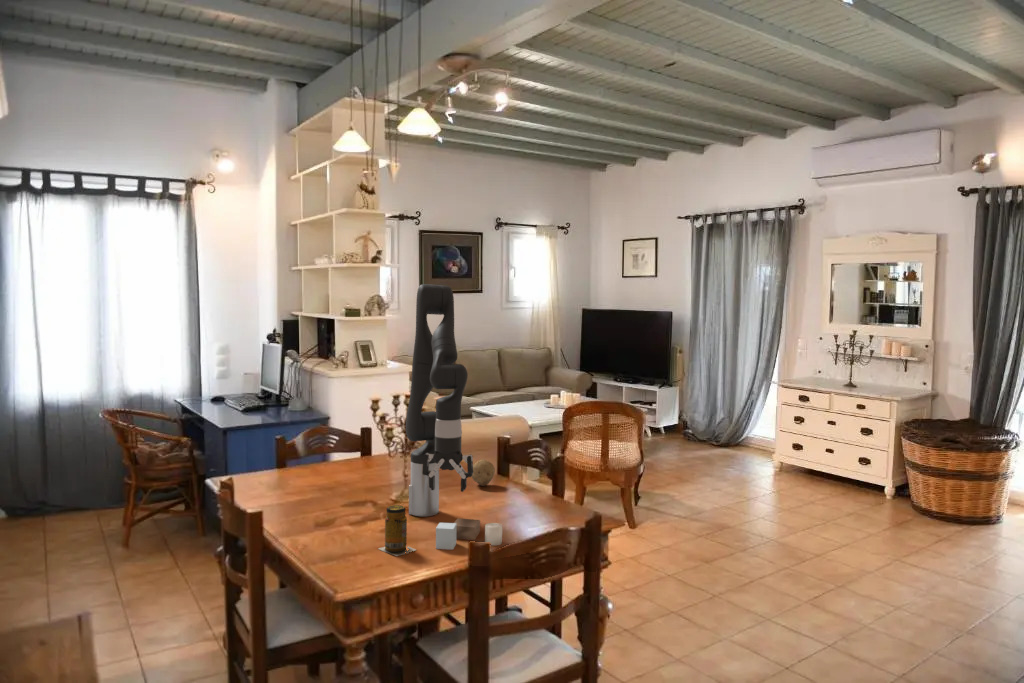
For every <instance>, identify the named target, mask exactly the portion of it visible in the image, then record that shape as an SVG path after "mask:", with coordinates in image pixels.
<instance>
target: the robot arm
mask: <svg viewBox="0 0 1024 683" xmlns="http://www.w3.org/2000/svg"><path fill="white" fill-rule="evenodd" d="M454 299H455V298H454V291H453V289H452V288H451V286H449V285H443V284H430V283H429V284H428V283H427V284H426V283H423V284H420V285H419V286H418V289H417V293H416V302H415V303H416V305H415V306H416V307H415V312H416V313H415V336H414V345H413V354H412V362H411V364H412V365H411V383H410V384H411V385H410V393H409V394H410V395H409V400H408V407H407V413H406V421H405V434H406V437H407V439H408V440H409V442H423V441H425V442H424V443H423V444H422V445H421V446H420V447H418V448H416V449H414V450H412V451H411V453H410V484H409V485H408V515H413V516H416V517H432V516H435V515H438V514H439V512H440V510H439V509H440V470H441V471H446V470H448V471H456V473H457V474H459V476H460V492H461V493H464V491H465V490H466V488H467V486H468V484H467V483H468V482H467V479H468V478H472V475H473V465H474V459H473V458H474V456H473V455H472V453H470V454H468V455H463V454H462V434H463V430H462V418H461V417H462V400H463V395H464V391H465V388H466V384H467V382H468V378H469V377H468V374H469V373H468V369H467V368H466V366H465V365H464V364H461V363H456V362H457V360H458V351H457V350H458V349H457V344H456V337H455V304H454V303H455V300H454ZM428 315H434V316H435V315H436V316H437V315H439V316H441V315H443V317H442V319H441V322H440V323H439V325H438V326H437V327H436V329H435V330H434V331H433V333H432V332H431V329H430V326H429V324H428ZM433 389H435V390H453V391H452V393H451V394H449V395H446V396H442V397H439V398H437V399H436V402H435V411H432V410H431V411H423V407H424V404H425V401H426V399H427V397H428V396H429V394H431V391H432V390H433ZM462 461H464V462H465V464H467V465H466V467H467V471H466V470H465V469H464V467H463V465H462V464H461V463H462Z"/></svg>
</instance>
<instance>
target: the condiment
mask: <svg viewBox="0 0 1024 683" xmlns="http://www.w3.org/2000/svg"><path fill="white" fill-rule="evenodd" d="M407 522H408V519H407V516H406V506H404V505H398V504H396V505H390V506H387V508H386V516H385V519H384V546H382V547H379V548H377V549H378V550H379V551H382V552H384V553H387V554H390V555H392V556H395V557H398V556H402V555H406V554H410V553H411V552H412V551H413V552H414V551H417V549H416V548H413V547H411V546H408V547H407V548H408V549H409V550H408V551H407V550H406V546H407V541H408V540H407V539H408V538H407V535H408V533H407V531H408V527H407V526H408V523H407ZM405 550H406V551H405ZM405 552H406V554H405ZM409 552H410V553H409ZM413 552H412V553H413Z"/></svg>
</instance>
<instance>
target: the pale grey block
mask: <svg viewBox="0 0 1024 683" xmlns="http://www.w3.org/2000/svg"><path fill="white" fill-rule="evenodd" d="M456 529H457V523H454V522H438V524H437V526H436V527H435V549H436V550H454V549H455V547H456V545H457V539H456Z"/></svg>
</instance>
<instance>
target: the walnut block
mask: <svg viewBox="0 0 1024 683" xmlns="http://www.w3.org/2000/svg"><path fill="white" fill-rule="evenodd" d="M453 523H457V529H456V540H457V539H458V540H470V541H471V540H472V541H476V539H477V537H478V535H479V534H480V532H481V530H480V529H481V519H475V518H474V519H473V518H456V520H454V522H453Z"/></svg>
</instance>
